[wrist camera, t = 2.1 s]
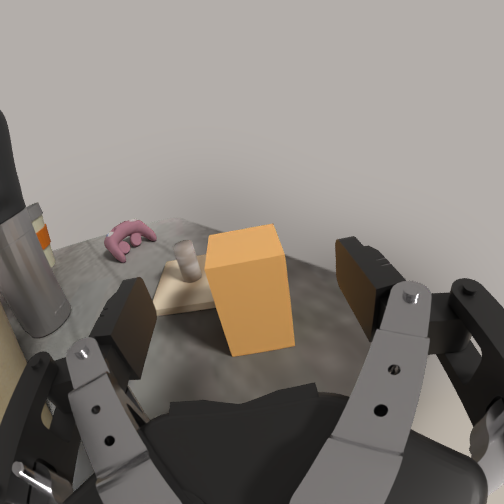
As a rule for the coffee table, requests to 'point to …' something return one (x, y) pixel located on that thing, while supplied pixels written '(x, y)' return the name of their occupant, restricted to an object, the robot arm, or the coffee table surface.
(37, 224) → the reusable coffee cup
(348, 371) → the coffee table surface
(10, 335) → the plant pot
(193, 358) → the coffee table surface
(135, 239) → the video game controller
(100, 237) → the coffee table surface
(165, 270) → the flat beige base block
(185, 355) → the coffee table surface
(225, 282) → the tall orange pillar
